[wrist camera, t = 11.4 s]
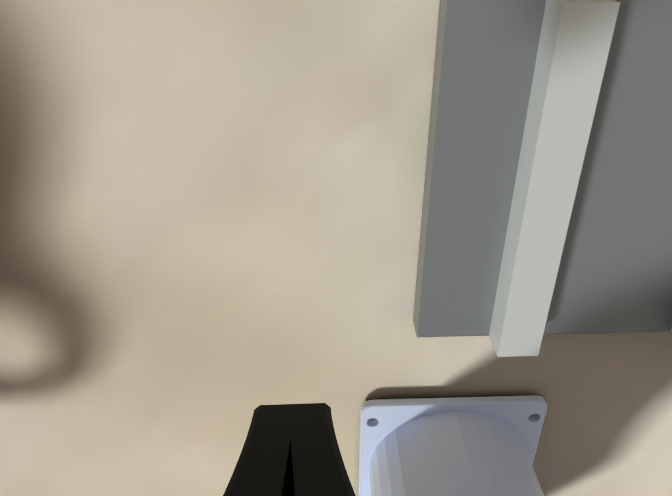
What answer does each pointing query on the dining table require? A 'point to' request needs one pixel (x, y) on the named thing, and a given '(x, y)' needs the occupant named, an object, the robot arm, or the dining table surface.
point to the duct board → (548, 172)
